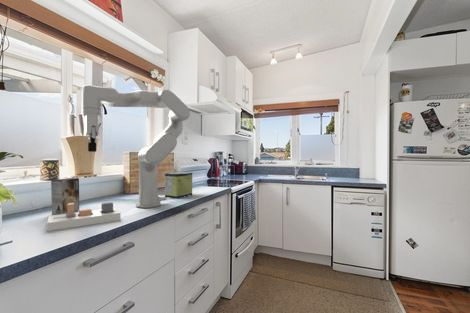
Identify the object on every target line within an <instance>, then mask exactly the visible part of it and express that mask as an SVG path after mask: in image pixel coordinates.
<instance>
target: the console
mask: <svg viewBox="0 0 470 313" xmlns="http://www.w3.org/2000/svg"><path fill="white" fill-rule="evenodd" d="M75 214H76V216H74V217H66V214H60V215H52V214H51V215H48V218H47V232H53V231H58V230H59V231H60V230H64V229H65V230H66V229H69V228H71V229H72V228H78V227H83V226H91V225H96V224H97V225H98V224H103V223H109V222H116V221H121V212H120V211H119V210H118V209H117V208H116V207H113V212H110V213H102V208H101V209H93V210H92V215H87V216H80V217H79V211H76V212H75Z"/></svg>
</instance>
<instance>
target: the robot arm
mask: <svg viewBox="0 0 470 313" xmlns="http://www.w3.org/2000/svg"><path fill="white" fill-rule="evenodd" d="M102 104H103V105H104V106H106V107H111V108H112V107H113V108H114V107H115V108H154V109H164V108H165V109H166V108H168V109H169V112H168V122H169V123H168V125H167V126H166V127H165V128H164V129H163V130H162V131H161V132H160V133H159V134H158V135H157V136H156V137H155V138H154V140H153V144H151V146H145V147H143V148H142V149H140V150H139V152H138V154H137V163H138V202H136V203H135V207H136V208H138V209H139V208H141V209H149V208H151V209H152V208H156V207H160V206H161V202H162V201H163V202H164V201H167V199H168V198H167V197H165V196H163V197H162V196H158V195H159V193H158V190H159V189H158V188H159V186H158V185H159V184H158V182H159V179H158V177H159V175H158V174H159V172H158V165H159V164H161V163H162V162H163V161H164V160H165V159H166V158H167V157H168V156H169V155H171V153H172V152H173V151H174V150H175V148H176V147H177V144H178V138H179V137H180V136H181V134H182V133H183V129H184V123H183V122H185V121H186V120H188V119H189V118H190V116H191V111H190V109H189V107H188V106H187V104H185V103H184V102H183V101H182V100H181V99H180V98H179V97H178V96H177V95H176V94H175V93H174V92H173V91H171V90H170V89H163V90H161V91H150V90H141V89H139V90H135V91H134V90H133V91H131V92H119V90H118V89H116V88H115V87H109V86H97V85H93V84H85V85H83V87H82V116H84V137H87V139H88V144H87V145H88V146H87V151H88V152H89V153H91V152H92V153H93V152H95V153H96V152H97V137H98V136H99V134H100V133H99V131H100V130H99V128H100V121H99V120H100V119H99V118H101V117H102Z"/></svg>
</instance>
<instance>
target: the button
mask: <svg viewBox="0 0 470 313" xmlns="http://www.w3.org/2000/svg"><path fill="white" fill-rule="evenodd" d="M113 208H114V202H103V203H101V209H102V213H110V212H113Z"/></svg>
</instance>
